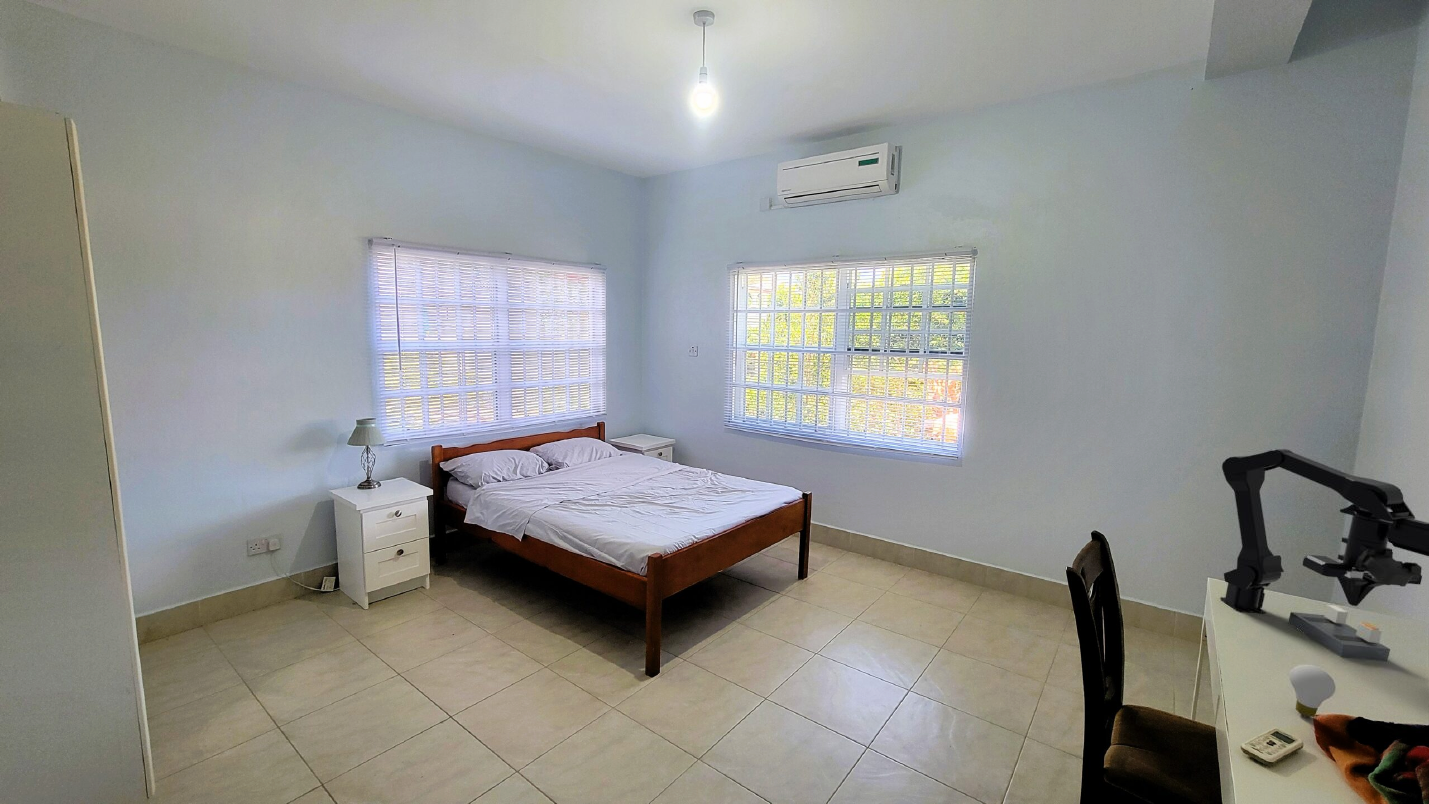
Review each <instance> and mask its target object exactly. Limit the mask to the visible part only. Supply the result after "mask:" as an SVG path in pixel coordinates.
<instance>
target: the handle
mask: <svg viewBox="0 0 1429 804" xmlns="http://www.w3.org/2000/svg"><path fill="white" fill-rule="evenodd" d="M1348 613H1349V612H1348V611H1346V610H1345V609H1344V608H1341V607H1340V606H1338V605H1331V604H1326V607H1325V612H1324V614H1323V615H1324V617H1326V618H1328V619H1330V620H1331V621H1333V622H1335V623H1341V624H1346V623H1347V618H1348Z"/></svg>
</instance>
